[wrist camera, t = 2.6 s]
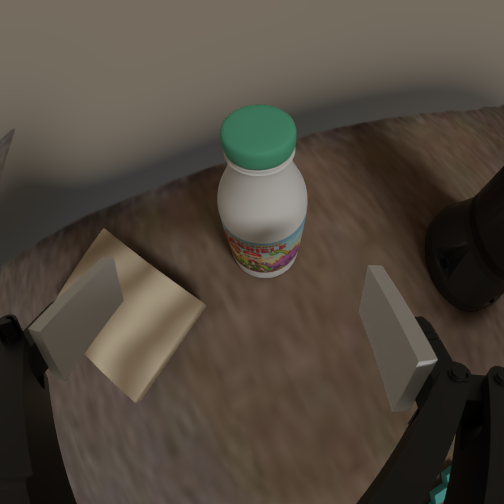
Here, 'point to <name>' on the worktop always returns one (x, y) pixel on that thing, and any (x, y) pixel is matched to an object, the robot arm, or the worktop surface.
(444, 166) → the worktop surface
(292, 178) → the milk bottle
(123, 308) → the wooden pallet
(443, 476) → the alien figure
